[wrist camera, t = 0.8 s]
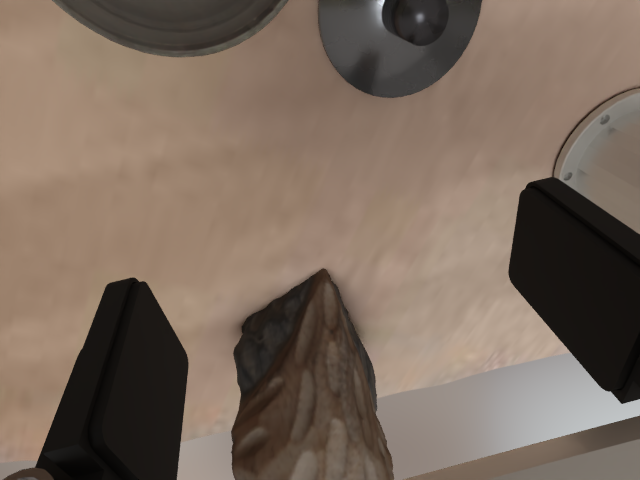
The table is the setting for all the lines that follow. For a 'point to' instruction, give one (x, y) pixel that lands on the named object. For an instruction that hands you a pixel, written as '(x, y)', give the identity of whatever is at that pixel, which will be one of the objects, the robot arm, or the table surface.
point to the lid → (395, 41)
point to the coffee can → (174, 23)
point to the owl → (306, 393)
